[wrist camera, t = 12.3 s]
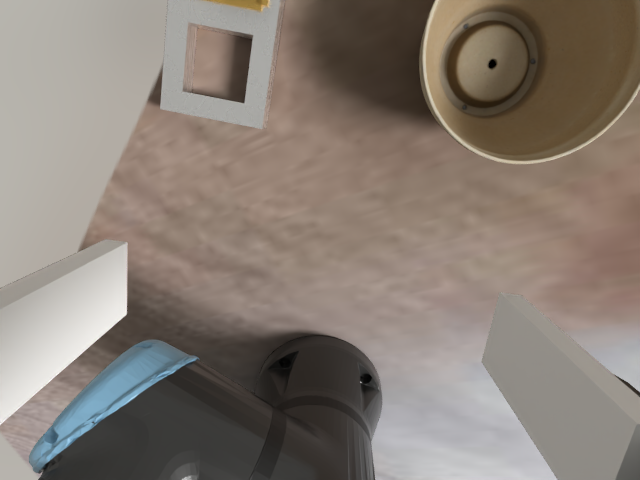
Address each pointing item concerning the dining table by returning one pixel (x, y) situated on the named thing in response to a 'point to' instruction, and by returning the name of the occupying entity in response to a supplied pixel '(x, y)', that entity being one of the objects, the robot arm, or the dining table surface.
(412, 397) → the dining table surface
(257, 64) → the grey slotted holder
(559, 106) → the planter bowl
